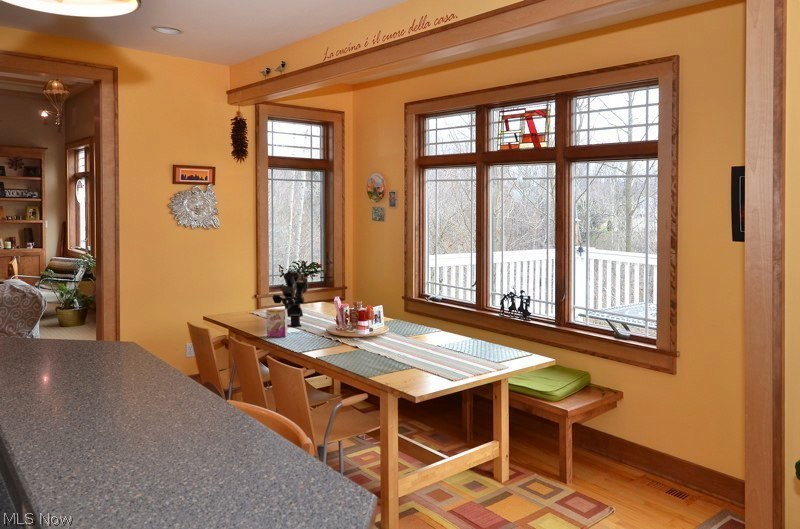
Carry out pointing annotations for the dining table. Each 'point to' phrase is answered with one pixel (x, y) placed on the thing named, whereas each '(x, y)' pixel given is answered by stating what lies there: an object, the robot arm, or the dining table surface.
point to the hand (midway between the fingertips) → (285, 310)
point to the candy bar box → (277, 323)
